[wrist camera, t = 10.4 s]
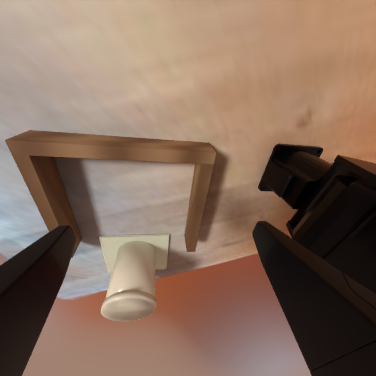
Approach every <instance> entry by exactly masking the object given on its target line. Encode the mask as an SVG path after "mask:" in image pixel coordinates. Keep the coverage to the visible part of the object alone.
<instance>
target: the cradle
mask: <svg viewBox="0 0 376 376" xmlns="http://www.w3.org/2000/svg"><path fill="white" fill-rule="evenodd" d="M5 141H6V144H7V146H8V148H9V150H10V152H11V154H12V156H13V158H14V160H15V162H16V164H17V166H18V168H19V170H20V172H21V174H22V176H23V179H24V181H25V183H26V185H27V187H28V189H29V191H30V193H31V195H32V197H33V199H34V201H35V203H36V205H37V207H38V209H39V212H40V214H41V216H42V218H43V220H44V222H45V224H46V226H47V228H48V230H49V232H50V231H52V230H53V229H55V228H56V227H58V226H59V225H71V226H72V228H73V231H74V233H75V236H76V243H75V247H74V250H73V253H72V256H71V258H73V256H74V254H75V252H76V250H77V247H78V245H79V243H80V241H81V239H82V238H81V236H80V233H79V230H78V227H77V224H76V221H75V218H74V215H73V212H72V210H71V207H70V204H69V201H68V198H67V195H66V192H65V189H64V186H63V184H62V181H61V178H60V175H59V172H58V169H57V166H56V163H55V160H54V157H72V158H93V159H115V160H136V161H157V162H178V163H195V169H194V176H193V182H192V189H191V196H190V202H189V209H188V216H187V222H186V229H185V242H186V249H187V252H195V249H196V245H197V240H198V236H199V231H200V226H201V222H202V217H203V213H204V208H205V203H206V199H207V194H208V189H209V185H210V180H211V176H212V171H213V166H214V162H215V157H216V152H215V150H214V149H213V148H212V146H211V145H210V144H209V143H203V142H189V141H175V140H160V139H146V138H132V137H118V136H104V135H90V134H76V133H61V132H47V131H33V130H29V131H27V132H24V133H22V134H19V135H17V136H14V137H12V138H9V139H7V140H5Z"/></svg>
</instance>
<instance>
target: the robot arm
mask: <svg viewBox="0 0 376 376" xmlns="http://www.w3.org/2000/svg"><path fill="white" fill-rule="evenodd" d="M279 147H280V148H279ZM278 148H279V149H278ZM317 151H318V152H317ZM322 152H323V148H321V147H315V146H302V145H289V144H277V145H276V146H275V147H274V149H273V152H272V154H271V156H270V159H269V161H268V164H267V166H266V169H265V171H264V174H263V176H262V179H261V181H260V184H259V186H258V189H259V190H260V191H274V192H275V193H276V194H277V195H278V196H279V197H281V198H282V199H283V200H284V201H285V202H286V203H287V204H288V205H289V206H290V207H291V208H292V209H297V212H296V213H295V214H294V216H293V217H292V218H291V220H290V221H288V222H287V224H286V226H287V228H288V230H289V232H290V234H291V237H292V238H290V237H289V236H287V235H286V234H284V233H283V232H281V231H280V230H278V229H277V228H275V227H274V226H272V225H271V224H269V223H268V222H266V221H259V222H257V224H256V226H255V228H254V230H253V238H254V241H255V244H256V247H257V250H258V253H259V256H260V259H261V262H262V264H263V267H264V269H265V271H266V274H267V276H268V278H269V280H270V283H271V285H272V287H273V289H274V292H275V294H276V296H277V298H278V301H279V303H280V305H281V307H282V309H283V312H284V314H285V316H286V319H287V321H288V323H289V325H290V327H291V330H292V332H293V334H294V336H295V339H296V341H297V343H298V345H299V348H300V350H301V352H302V355H303V357H304V359H305V361H306V364H307V366H308V368H309V370H310V373H311V375H312V376H376V164H375V163H371V162H367V161H362V160H358V159H354V158H349V157H345V156H341V155H338V156H337V157H336V158H335V160H334V161H335V162H334V163H333V164H330V163H328V162H326V161H324V160H322V159H320V158H319V157H320V155H321V154H322ZM75 243H76V236H75V233H74V231H73V228H72V226H71V225H59V226H58V227H56V228H55V229H53V230H52V231H50V232H49V233H47V234H46V235H44V236H43V237H41V238H40V239H38V240H37V241H36V242H34V243H33V244H31V245H30V246H28V247H27V248H25V249H24V250H22V251H21V252H19V253H18V254H16V255H15V256H14V257H12V258H11V259H9V260H8V261H6V262H5V263H3V264H2V265H0V376H22V374H23V372H24V370H25V367H26V365H27V363H28V361H29V358H30V356H31V354H32V351H33V349H34V347H35V345H36V342H37V340H38V337H39V335H40V333H41V331H42V328H43V326H44V324H45V322H46V319H47V317H48V315H49V312H50V310H51V308H52V305H53V303H54V301H55V299H56V296H57V294H58V292H59V290H60V287H61V285H62V283H63V280H64V278H65V275H66V272H67V269H68V266H69V263H70V259H71V256H72V253H73V250H74V247H75Z"/></svg>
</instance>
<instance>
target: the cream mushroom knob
mask: <svg viewBox="0 0 376 376" xmlns="http://www.w3.org/2000/svg"><path fill="white" fill-rule="evenodd" d="M155 270H156V250H155V248H154V246H153V245H151V244H150V243H148V242H144V241H130V242H127V243H124V244H123V245H121V246H120V247H119V249H118V251H117V255H116V259H115V263H114V267H113V271H112V275H111V279H110V283H109V287H108V291H107V295H106V299H105V300H104V302H103V304H102V308H101V314H102V315H103V316H104V317H105V318H107V319H110V320H114V321H134V320H138V319H142V318H145V317H147V316H149V315H151V314H152V313H154V311H155V310H156V298H155Z"/></svg>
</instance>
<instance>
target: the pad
mask: <svg viewBox="0 0 376 376" xmlns="http://www.w3.org/2000/svg"><path fill="white" fill-rule="evenodd" d="M99 239H100V243H101V247H102V251H103V254H104V258H105V262H106V266H107V270H108V273H112V271H113V267H114V263H115V259H116V255H117V251H118V249H119V247H120V246H121V245H123V244H124V243H127V242H130V241H144V242H148V243H150V244H151V245H153V246H154V248H155V250H156V270H158V269H167V256H168V243H169V234H151V235H118V236H100V237H99Z"/></svg>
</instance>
